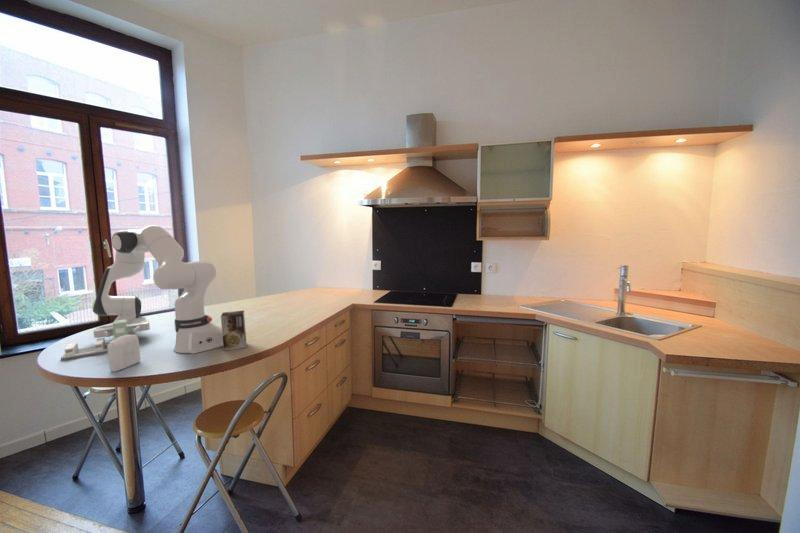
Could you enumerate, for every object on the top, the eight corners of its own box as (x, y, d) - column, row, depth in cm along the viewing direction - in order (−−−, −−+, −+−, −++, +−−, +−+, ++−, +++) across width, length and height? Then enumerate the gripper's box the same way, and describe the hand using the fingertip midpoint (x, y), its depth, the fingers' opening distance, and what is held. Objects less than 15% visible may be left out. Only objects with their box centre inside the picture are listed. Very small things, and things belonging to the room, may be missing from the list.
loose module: (129, 343, 152) (126, 319, 151) (128, 347, 147) (125, 322, 146) (116, 346, 149) (114, 320, 148) (115, 349, 144) (112, 324, 143)
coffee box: (246, 343, 151) (244, 310, 150) (245, 348, 146) (243, 313, 144) (225, 346, 148) (222, 312, 146) (223, 351, 142) (220, 315, 140)
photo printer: (133, 360, 132) (130, 331, 131) (142, 361, 132) (139, 332, 130) (107, 371, 122) (103, 340, 121) (116, 372, 121) (113, 341, 120)
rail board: (109, 345, 150) (108, 336, 149) (106, 352, 141) (105, 343, 140) (67, 352, 141) (65, 343, 141) (61, 360, 133) (59, 350, 132)
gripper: (94, 323, 152) (89, 330, 141) (149, 316, 164) (148, 322, 153) (96, 336, 153) (91, 344, 142) (150, 328, 165) (149, 335, 154)
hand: (121, 333), depth 148 cm, fingers open, 8 cm apart
